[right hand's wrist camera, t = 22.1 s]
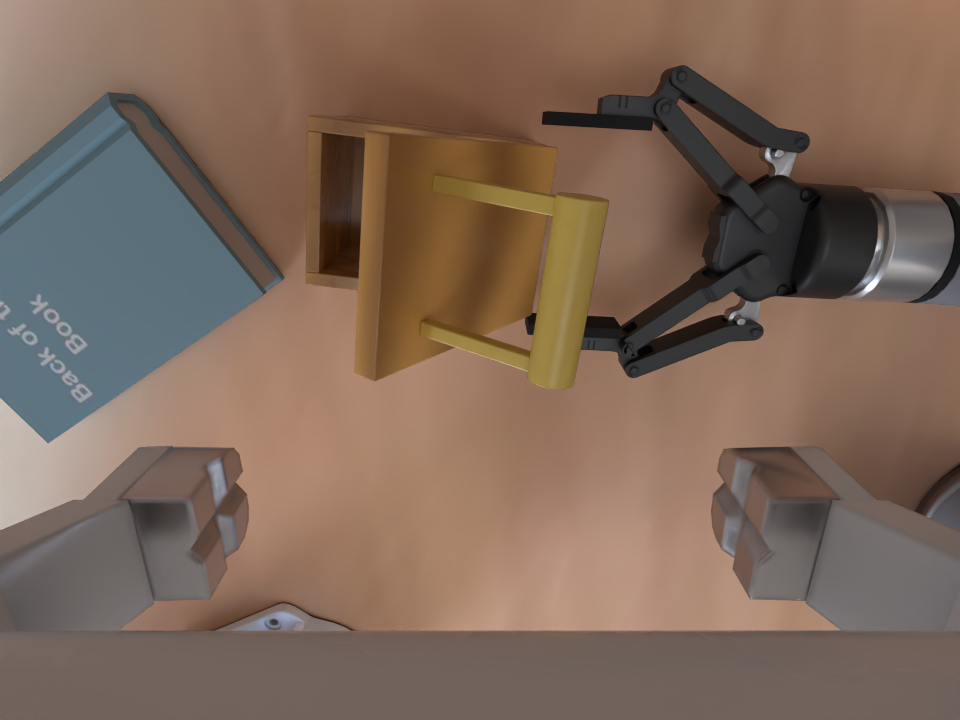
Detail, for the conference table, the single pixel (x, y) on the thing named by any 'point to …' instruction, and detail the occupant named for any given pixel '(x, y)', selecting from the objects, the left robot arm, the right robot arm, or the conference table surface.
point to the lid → (471, 255)
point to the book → (112, 263)
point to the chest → (346, 192)
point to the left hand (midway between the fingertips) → (534, 227)
